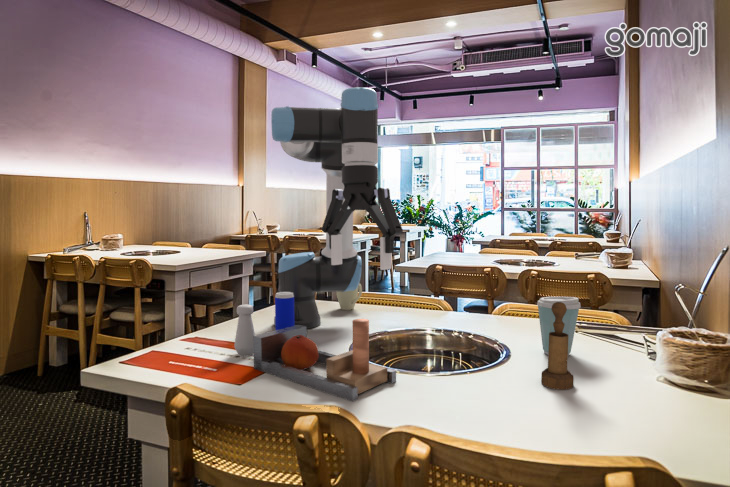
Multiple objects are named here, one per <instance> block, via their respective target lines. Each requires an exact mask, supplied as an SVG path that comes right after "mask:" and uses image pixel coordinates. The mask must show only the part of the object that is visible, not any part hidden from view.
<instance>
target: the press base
mask: <svg viewBox="0 0 730 487" xmlns="http://www.w3.org/2000/svg"><path fill="white" fill-rule="evenodd" d="M307 330H308V329H307V328H306V326H302V325H295V326H291V327H287V328H283V329H279V330H276V329H275V330H273V331H269V332H264V333H260V334H255V336H253V351H254V353H253V370H256V371H260V372H263V373H265V374H268V375H271V376H275V377H277V378H281V379H284V380H287V381H290V382H292V383H295V384H299V385H303V386H306V387H309V388H310V389H314V390H316V391H320V392H323V393H326V394H329V395H332V396H335V397H339V398H342V399H345V400H347V401H350V402H354V401H357V400H358V397H359V396H358V387H356V386H353V385H349V384H346V383H343V382H339V381H336V380H333V379H330V378H327V376H323V375H319V374H317V373H312V372H309V371H307V370H300V369H296V368H293V367H290V366H286V365H285V364H284V362H283V360H282V357H281V351H282V347H283V345H284V344H285V342H286V341H288V340H289V339H291V338H292V337H294V336H297V335H302V336H304V337H307V336H308V335H307V332H308V331H307ZM307 338H308V337H307ZM318 354H319V357H318V360H317V362H316V363H317V364H321V365H324V366H327V363H326V359H328V358H331V357H334V356H337V355H338V354H333V353H329V352H325V351H321V350H318ZM386 368H387V381H386V382H385V383H389V384H394V383H396V382H397V370H395V369H391V368H388V367H386Z"/></svg>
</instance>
